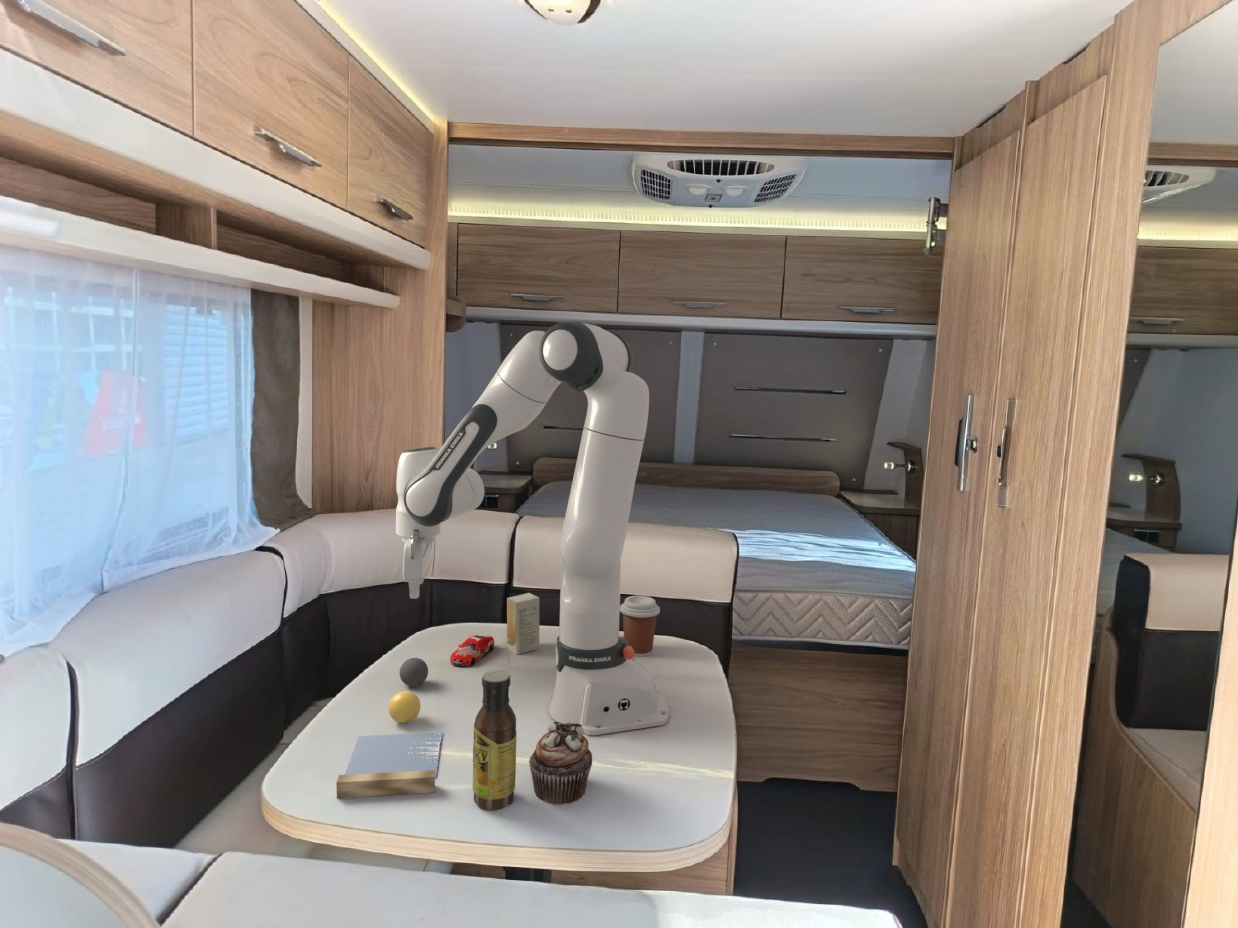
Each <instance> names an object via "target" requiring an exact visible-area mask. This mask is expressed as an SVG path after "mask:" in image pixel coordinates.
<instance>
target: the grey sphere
mask: <svg viewBox="0 0 1238 928" xmlns="http://www.w3.org/2000/svg"><path fill="white" fill-rule="evenodd" d="M428 675H429V668H428V665H427V663H426V661H424V660H423V659H422V658H419V657H411V658H408V659H406V660H405V661H404V662H403V663H402V665H401V666H400V668H399V678H400V680H401V682H402V683H403V684H405V685H406V686H409V687H418V686H420V685H421V684H423V683H425V681H426V680H427V677H428Z"/></svg>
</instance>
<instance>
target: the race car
mask: <svg viewBox="0 0 1238 928" xmlns="http://www.w3.org/2000/svg"><path fill="white" fill-rule="evenodd" d="M457 646H458V648H457V649H456V650H455V651H454V652H453V653H451V655H450V657H449V659H450V664H451V665H454V666H455V667H472V666H474V665H476V663H478V662H479V661H480V660H481V659H483V658H484V657H485V656H487V655H488V654H490V653H492V651H493V650H494V649H495V639H494V637H493V636H492V635H486V634H475V635H472V636H470V637H468V638H467V639H465V640H464V641H463V642H462V643H461V644H458V645H457Z"/></svg>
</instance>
